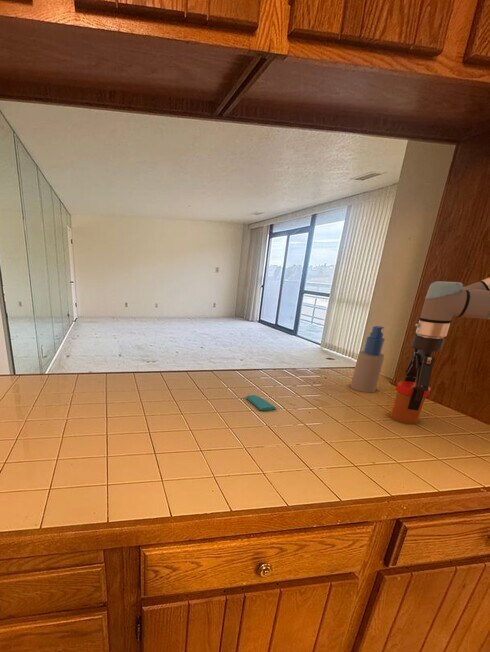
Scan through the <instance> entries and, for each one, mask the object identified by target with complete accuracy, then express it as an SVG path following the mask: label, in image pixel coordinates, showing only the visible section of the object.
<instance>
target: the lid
mask: <svg viewBox="0 0 490 652" xmlns="http://www.w3.org/2000/svg"><path fill="white" fill-rule="evenodd" d="M415 385H416V381H415V382H410V381H405V380H401V381H398V382H397V384H396V386H395V391H396V392H397V391H398V392H400V393H402V394H405V395H409V396H411V395H412V392H413V390H412V388H413V387H415ZM431 390H432V388H431V387H430V386H429V388H428V391H425V392H424V395H423V397H426V398H427V397H429V396H430V394H431Z"/></svg>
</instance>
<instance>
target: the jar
mask: <svg viewBox="0 0 490 652" xmlns="http://www.w3.org/2000/svg"><path fill="white" fill-rule="evenodd" d="M410 398H411V396H409V395H405V394H402V393H400V392H398V391H397V390H396V395H395V398H394V402H393V405H392V408H391V411H390V415H389V417H390V419H393V420H394V421H396V422H400V423H403V424H413V425H415V424H417V423H418V421H419V419H420V415H421V412H422V410H423V406H424V403H425V400H426V398H427V397H423V398H422V401H421V404H420V407H419V410H418V411H417V410H411V409H408V405H409V402H410Z"/></svg>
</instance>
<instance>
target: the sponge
mask: <svg viewBox="0 0 490 652" xmlns="http://www.w3.org/2000/svg"><path fill="white" fill-rule="evenodd" d="M246 399H247V401H249V402H250V403H252V404H253V405H254V406H255V407H256V408H257V409H258V410H259V411H271V410H276V406H274V405H273V404H272V403H269V401H267V400H265V399H264V398H262V397H261V396H258V395H256V394H250V395H249V394H248V395H247V396H246Z"/></svg>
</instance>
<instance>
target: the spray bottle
mask: <svg viewBox="0 0 490 652" xmlns="http://www.w3.org/2000/svg"><path fill="white" fill-rule="evenodd" d="M384 330H385V326H381V325H375V326H372V328H371V332H370V333H369V336H367V337H366V340H365V344H364V348H363V350H360V351H359V352H358V354H357V358H356V362H355V367H354V371H353V375H352V378H351V383H350V388H351V389H353V390H355V391H358V392H362V393H374V392H376V390H377V386H378V382H379V378H380V375H381V371H382V367H383V364H384V360H385V354H384V353H382V351H383V348H384V343H385V338H384Z"/></svg>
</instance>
